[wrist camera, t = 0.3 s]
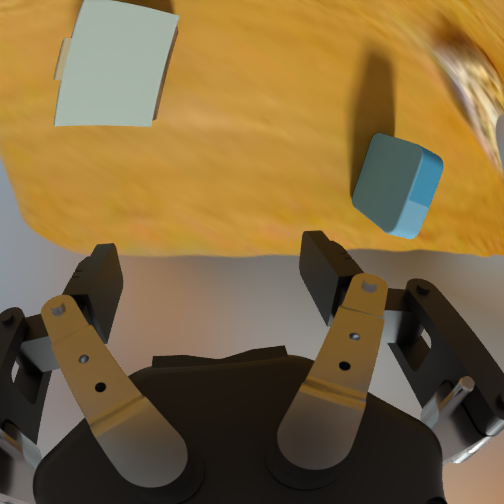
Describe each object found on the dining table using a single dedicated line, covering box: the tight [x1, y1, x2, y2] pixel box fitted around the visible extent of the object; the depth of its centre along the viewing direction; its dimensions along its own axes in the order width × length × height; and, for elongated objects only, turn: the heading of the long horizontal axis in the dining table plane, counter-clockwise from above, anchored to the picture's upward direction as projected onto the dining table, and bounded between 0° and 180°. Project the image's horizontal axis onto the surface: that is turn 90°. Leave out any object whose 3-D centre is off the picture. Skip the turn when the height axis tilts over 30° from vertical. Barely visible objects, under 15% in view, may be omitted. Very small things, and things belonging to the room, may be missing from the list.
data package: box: [352, 133, 443, 239], centre depth 36 cm, size 12×4×12 cm, turn 164°
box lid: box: [53, 0, 179, 127], centre depth 21 cm, size 13×11×2 cm
